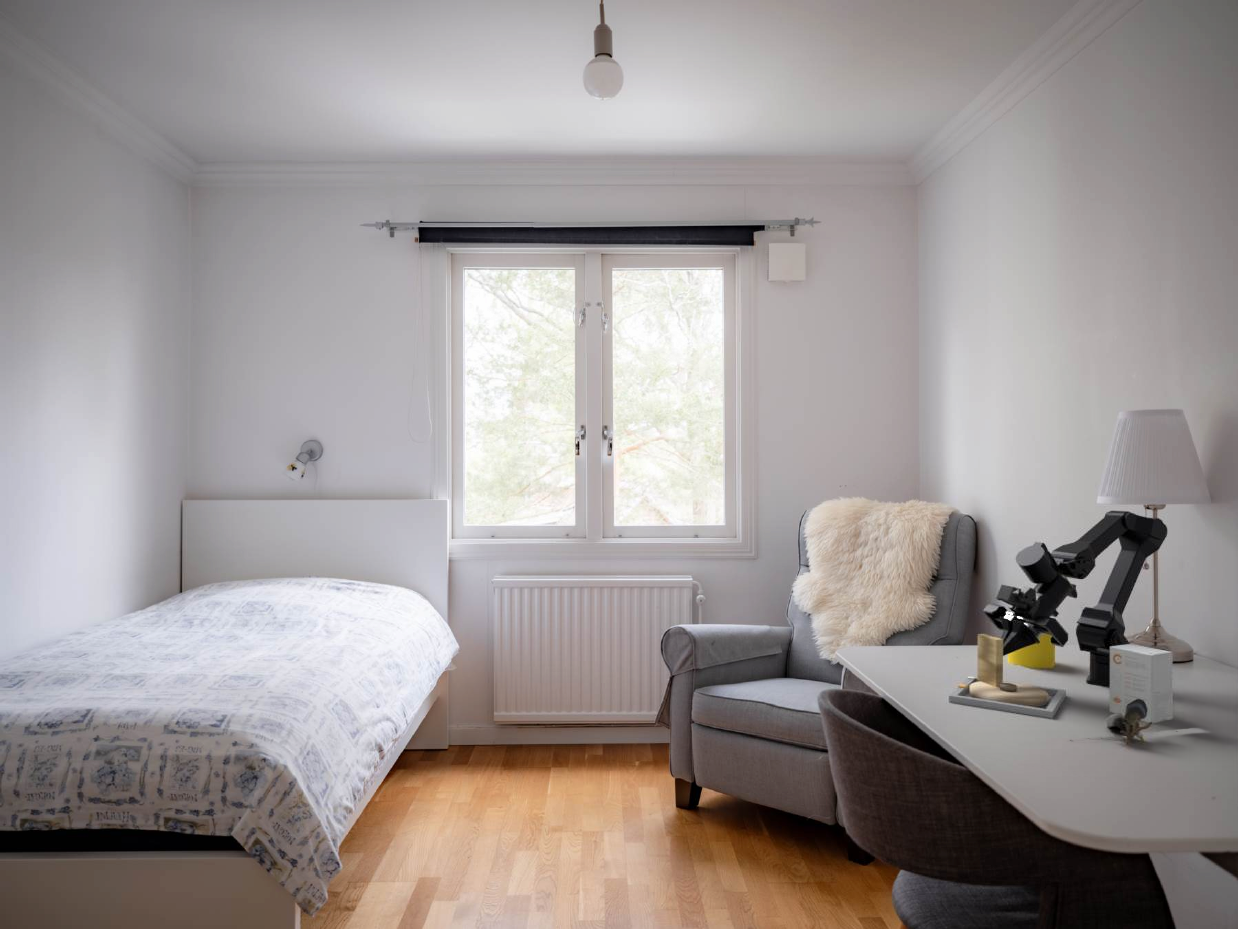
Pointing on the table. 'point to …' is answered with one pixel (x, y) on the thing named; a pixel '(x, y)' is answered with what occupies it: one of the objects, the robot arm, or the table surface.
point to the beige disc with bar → (1001, 678)
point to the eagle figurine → (1130, 720)
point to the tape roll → (1035, 654)
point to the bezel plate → (1048, 711)
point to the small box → (1141, 680)
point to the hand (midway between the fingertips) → (999, 654)
